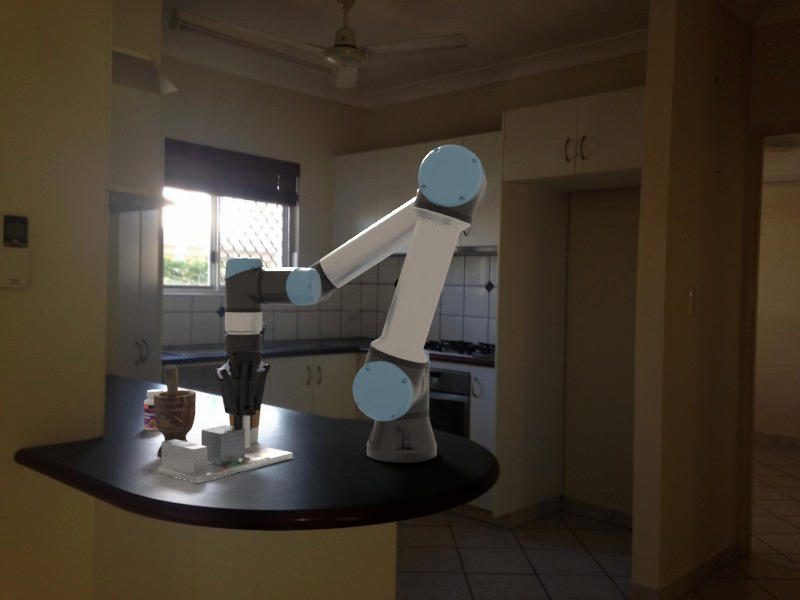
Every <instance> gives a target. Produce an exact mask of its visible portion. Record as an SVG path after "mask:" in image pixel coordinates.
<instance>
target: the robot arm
mask: <svg viewBox="0 0 800 600" xmlns="http://www.w3.org/2000/svg"><path fill="white" fill-rule="evenodd" d="M417 180H418V182H417V183H418V189H417V191H416V195H415V197H413V198H412V199H410V200H409V201H407V202H406V203H404V204H403V205H401V206H400V207H398V208H397V209H395V210H393V211H392V212H391V213H389V214H387V215H386V216H384V217H383V218H381V219H379V220H378V221H377V222H375V223H373V224H372V225H370V226H369V227H368V228H366V229H364V230H363V231H361V232H360V233H358V234H357V235H355V236H354V237H352V238H351V239H349V240H348V241H346V242H345V243H343V244H342V245H340V246H339V247H337V248H336V249H334V250H332V251H331V252H329V253H328V254H326V255H325V256H323V257H322V258H321V259H319V260H318V261H316V262H314V263H313V264H311V265H310V266H308V267H302V266H300V267H299V266H298V267H266V266H264V263H263V260H262V259H261V258H260V257H230V258H228V259H227V260H226V262H225V272H224V273H225V275H224V298H225V299H224V300H225V303H224V305H225V307H224V331H225V332H227V333H225V335H224V351H225V353H226V355H225V356H226V357H225V360H224V364H222V366H220V368H219V367H217V368H215V369H214V374H215V376H216V378H217V379H218V382H219V389H220V392H221V398H222V399H221V400H222V403H223V408H224V412H225V414H228V415H229V414H231V415H233V417H234V427H238V428H243V429H245V448H248V447H250V445H251V444H250V430H252V415H255V414H256V412H255V411H257V410H260V408H261V409H262V403H263V396H264V391H265V386H266V380H267V375H268V373H269V371H270V370H271V365H270V364H269V363H268V364H267V363H265V362H263V361H262V357H261V351H263V335H262V333H260V332H261V331H263V305H282V306H283V305H287V306H311V305H316V304H320V303H322V302H324V301H326V300H328V299H329V298H330V297H331V295H332V293H334V292H336V291H338V289H340V288H341V287H343V286H344V285H347V283H350V282H351V281H352V280H353V279H356V278H357V277H359V276H360V275H362V274H363V273H365V272H366V271H368V270H369V269H371V268H373V267H374V266H377V264H378V263H381V262H382V261H383V260H385V259H387V258H388V257H390V256H391V255H393V254H395V253H397V252H398V251H400V249H402V248H404V247H406V246H407V245H409V246H408V248H407V253H406V256H405V258H404V262H403V264H402V268H401V272H400V276H399V279H398V282H397V285H396V287H395V291H394V294H393V298H392V301H391V304H390V306H389V310H388V313H387V317H386V320H385V323H384V326H383V329H382V332H381V335H380V336H379V338H377V339H375V340H373V341H371V342H370V344H369V345H370V346H369V348H368V352H367V355H366V358H365V360H364V364H363V366H362V367H361V368H360V369H359V371H357V372H356V375H355V377H354V380H353V383H352V396H353V400H354V402H355V404H356V406H357V408H358V409H359V410H360V411H361V412H362V413H363V414H364V415H365V416H367V417H368V418H370V419H373V420H374V421H373V423H372V424H373V425H372V428H371V431H370V433H369V437H368V440H367V443H366V455H367V457H369V458H370V459H373V460H375V461H376V460H377V461H381V462H387V463H406V464H407V463H420V462H425V461H429V460H432V459H435V458H436V457H437V455H438V453H437V451H438V449H437V448H438V447H437V442H436V439H435V434H434V431H433V428H432V424H431V421H430V366H431V361H430V354H429V351H427V349H424V347H425V345H426V341H427V337H428V335H429V333H430V328H431V325H432V322H433V319H434V315H435V313H436V309H437V307H438V303H439V301H440V297H441V294H442V292H443V291H442V290H443V288H444V284H445V281H446V277H447V276H448V272H449V268H450V265H451V262H452V259H453V256H454V252H455V249H456V246H457V243H458V239H459V237H460V234H461V232H463V231H465V230H467V229H468V228H470V227H471V225H472V222H473V219H474V217H475V213H476V209H477V208H478V207H479V206H480V205H481V204H482V203H483V202H484V201H485V198H486V195H487V194H488V188H489V179H488V175H487V173H486V171H485V169H484V167H483V164H482V162H481V160H480V158H479V157H478V156H477V155H476V153H474V152H472V151H471V150H470V149H468V148H466V147H465V146H461V145H459V144H458V145H457V144H444V145H441V146H438V147H436V148H435V149H433V150H431V151H429V153H428V154H427V155H426V156H425V157H424V158H423V160H422V162H421V163H420V166H419V169H418V176H417ZM260 411H261V410H260Z"/></svg>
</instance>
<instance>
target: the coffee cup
mask: <svg viewBox="0 0 800 600" xmlns="http://www.w3.org/2000/svg"><path fill="white" fill-rule="evenodd" d="M261 409H262V407H261V408H260V410H257V411H255V412H256V414H255V415H252V430H250V445H254V444H257V443H258V441H259V428H260V427H259V426H260V417H261ZM228 417H229V426H233V427H234V417H233V415H231V414H228Z"/></svg>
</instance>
